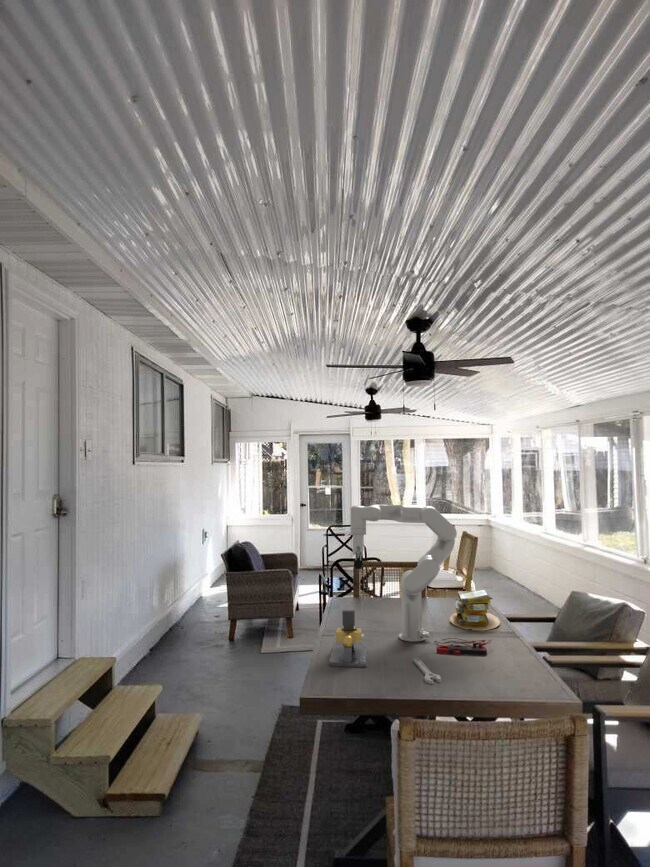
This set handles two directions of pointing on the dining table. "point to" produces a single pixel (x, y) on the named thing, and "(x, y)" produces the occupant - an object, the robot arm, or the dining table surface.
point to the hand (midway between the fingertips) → (358, 567)
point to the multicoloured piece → (349, 649)
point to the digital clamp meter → (463, 648)
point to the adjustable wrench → (427, 672)
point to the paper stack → (473, 611)
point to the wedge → (348, 620)
